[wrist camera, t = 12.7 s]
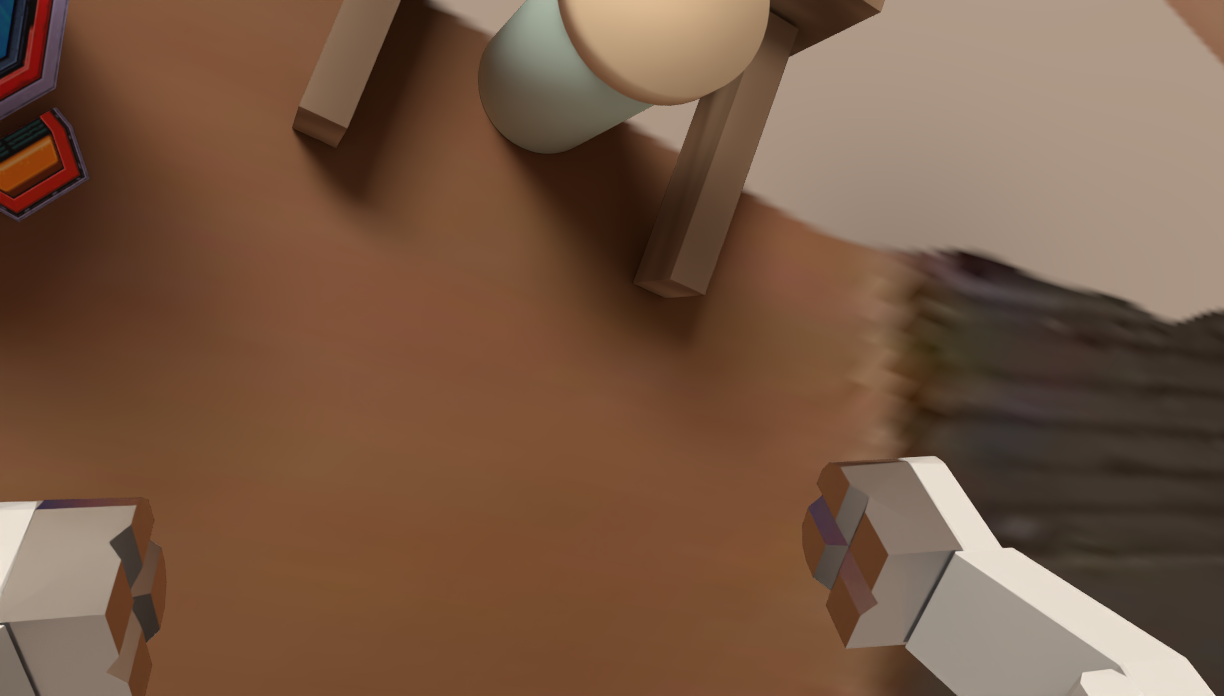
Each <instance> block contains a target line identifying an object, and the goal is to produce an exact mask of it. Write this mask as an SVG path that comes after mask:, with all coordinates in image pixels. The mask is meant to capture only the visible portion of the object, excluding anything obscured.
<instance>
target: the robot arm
mask: <svg viewBox="0 0 1224 696" xmlns="http://www.w3.org/2000/svg"><path fill="white" fill-rule="evenodd" d="M817 485H818V487H819V489H820V491H821V493H822V496H821V497H820V498H819V499H817V500H816V501H815V502H814V503H813V504H811V505H810V506H809V507H808V509H807V512H806V515H805V519H804V522H803V525H802V544H803V550H804V554H805V558H806V562H807V564H808V566H809V569H810V571H811V573H812V576H813V578H815V579H816V580H817V581H819V582H820V583H821V584H823V585H824V586H825V587H827V588H828V589H829V590H830V593H829V597H828V600H827V603H826V607H827V609H828V611H829V613H830V616H831V618H832V620H833V622H834V624H835V627H836V629H837V631H838V633H839V635H840V637H841V640H842V642H843V644H844V646H845V648H859V647H873V646H887V645H901V644H907V645H906V647H905V648H906V649H908V650H909V651H910V652H911V653H912V654H913V655H914V656H915V657H916V658H917V659H918V660H920V661H921V662H922V663H923V664H924V665H925V666H926V667H927V668H928V669H929V670H930V671H932V672H933V673H934V674H935V675H936V676H937V677H938V678H939V679H940V680H941V681H942V682H943V683H945V684H946V685H947V686H948V687H949V688H950V689H951V690H952V691H953V692H954V693H955V694H957V695H958V696H1215V695H1214V693H1213V692H1212V691H1211V690H1210V688H1209V687H1208V686H1207V684H1206V683H1205V682H1204V681H1203V679H1202V678H1201V677H1200V675H1199V674H1198V673H1197V672H1196V670H1195V669H1194V668H1193V666H1192V665H1191V664H1190V663H1189V661H1188V660H1187V659H1186V658H1185V657H1183V656H1182V655H1180V654H1179V653H1177V652H1175V651H1174V650H1172V649H1171V648H1169V647H1168V646H1166V645H1164V644H1163V643H1161V642H1160V641H1158V640H1157V639H1155V638H1153V637H1152V636H1150V635H1149V634H1147V633H1146V632H1144V631H1142V630H1141V629H1139V628H1138V627H1136V626H1135V625H1133V624H1131V623H1130V622H1128V621H1127V620H1125V619H1124V618H1122V617H1120V616H1119V615H1117V614H1116V613H1114V612H1113V611H1111V610H1109V609H1108V608H1106V607H1105V606H1103V605H1102V604H1100V603H1098V602H1097V601H1095V600H1094V599H1092V598H1091V597H1089V596H1087V595H1086V594H1084V593H1083V592H1081V591H1080V590H1078V589H1076V588H1075V587H1073V586H1072V585H1070V584H1069V583H1067V582H1065V581H1064V580H1062V579H1061V578H1059V577H1058V576H1056V575H1054V574H1053V573H1051V572H1050V571H1048V570H1047V569H1045V568H1043V567H1042V566H1040V565H1039V564H1037V563H1036V562H1034V561H1032V560H1031V559H1029V558H1028V557H1026V556H1025V555H1023V554H1021V553H1020V552H1018V551H1017V550H1015V549H1014V548H1002V547H1001V546H1000V544H999V543H998V541H997V540H996V538H995V537H994V535H993V534H992V532H991V531H990V530H989V528H988V527H987V525H986V524H985V522H984V521H983V519H982V518H981V516H980V515H979V513H978V512H977V510H976V509H975V507H974V506H973V504H972V503H971V502H970V500H969V499H968V497H967V496H966V494H965V493H964V491H963V490H962V488H961V487H960V485H959V484H958V482H957V481H956V479H955V478H954V476H953V475H952V473H951V472H950V471H949V469H948V468H947V466H946V465H945V463H944V462H943V461H941V460H940V459H938V458H937V457H935V456H928V457H911V458H900V459H895V458H893V459H877V460H860V461H844V462H829V463H828V464H827V465H826V466H825V467H824V468H823V469H822V471H821V474H820V476H819V479H818V482H817ZM153 524H154V517H153V514H152V510H151V507H150V504H149V500H148V499H145V498H142V497H138V498H102V499H66V500H44V501H24V502H0V696H145V694H146V689H147V685H148V681H149V676H150V672H151V668H152V662H151V659H150V655H149V652H148V648H147V645H146V643H147V642H148V641H149V640H150V639H151V638H152V637H153V636H154V635H155V634H156V633H157V632H158V631H159V630H160V628H161V623H162V618H163V613H164V608H165V596H166V570H165V561H164V556H163V552H162V548H161V547H160V546H159V545H157V544H156V543H155V542H153V541H152V540H150V536H151V532H152V528H153Z"/></svg>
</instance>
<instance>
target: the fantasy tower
mask: <svg viewBox="0 0 1224 696" xmlns="http://www.w3.org/2000/svg"><path fill="white" fill-rule="evenodd" d="M68 4H69V0H0V120H2V119H3V118H5V117H7V116H9V115H10V114H12V113H14V112H16V111H17V110H19V109H21V108H22V107H24V106H26V105H28V104H29V103H31V102H33V101H35V100H36V99H38V98H40V97H42V96H43V95H45V94H47V93H49V92H50V91H52V90H54V89H56V83H57V77H58V70H59V63H60V57H61V50H62V43H63V37H64V30H65V23H66V17H67V10H68ZM89 179H90V178H89V175H88V172H87V169H86V166H85V163H84V160H83V157H82V154H81V151H80V148H79V145H78V142H77V139H76V136H75V133H74V130H73V127H72V125H71V124H70V123H69V122H68V120H67V119H66V118H65V117H64V116H63V114H62V113H61V112H60V111H59V110H58V108H57V107H54V108H53V109H51V110H49V111H47V112H46V113H44V114H42V115H41V116H39V117H37V118H35V119H34V120H32V121H30V122H28V123H27V124H25V125H23V126H22V127H20V128H18V129H16V130H15V131H13V132H11V133H9V134H8V135H6V136H4V137H2V138H1V139H0V212H2V213H4V214H5V215H7V216H9V217H11V218H12V219H14V220H16V221H18V222H20V221H22V220H23V219H25V218H26V217H28V216H30V215H31V214H33V213H35V212H36V211H38V210H40V209H41V208H43V207H44V206H46V205H48V204H49V203H51V202H53V201H54V200H56V199H58V198H59V197H61V196H62V195H64V194H66V193H67V192H69V191H71V190H72V189H74V188H76V187H77V186H79V185H80V184H82V183H84V182H85V181H87V180H89Z"/></svg>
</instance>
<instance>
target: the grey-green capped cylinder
mask: <svg viewBox="0 0 1224 696" xmlns="http://www.w3.org/2000/svg"><path fill="white" fill-rule="evenodd" d="M769 6H770V0H526V1H525V3H524V4H523V5H522V6H521V7H520V8H519V9H518V10H517V12H516V13H515V14H514V15H513V16H512V17H511V18H510V19H509V20H508V22H507V23H506V24H505V25H504V26H503V27H502V28H501V29H500V30H499V31H498V33H497V34H496V35H495V36H494V37H493V38H492V39H491V41H490V42H489V44H488V45H487V47H486V49H485V51H484V53H483V55H482V58H481V61H480V66H479V71H478V86H479V93H480V98H481V101H482V104H483V107H484V109H485V111H486V113H487V115H488V117H489V119H490V120H491V122H492V123H493V125H494V126H495V127H496V128H497V129H498V131H499V132H500V133H501V134H502V135H503V136H505V137H506V138H507V139H508V140H510V141H511V142H512V143H514V144H516V145H518V146H519V147H521V148H524V149H526V150H529V151H532V152H536V153H543V154H554V153H560V152H564V151H567V150H570V149H572V148H574V147H576V146H578V145H580V144H582V143H584V142H586V141H588V140H589V139H591V138H593V137H595V136H597V135H599V134H601V133H603V132H604V131H606V130H608V129H610V128H612V127H614V126H616V125H617V124H619V123H621V122H623V121H625V120H627V119H629V118H631V117H632V116H634V115H636V114H638V113H640V112H642V111H644V110H645V109H647V108H649V107H651V106H653V105H668V106H669V105H670V106H671V105H678V104H684V103H687V102H691V101H695V100H697V99H699V98H701V97H703V96H705V95H707V94H709V93H711V92H713V91H715V90H717V89H719V88H721V87H723V86H725V85H727V84H728V83H730V82H731V81H733V80H734V79H735V78H736V77H737V76H739V75H740V74H741V73H742V72H743V71H744V70H745V69H746V67H747V66H748V65H749V64H750V62H751V61H752V60H753V58H754V56H755V55H756V53H757V51H758V49H759V47H760V45H761V42H762V40H763V38H764V34H765V31H766V27H767V23H768V16H769Z"/></svg>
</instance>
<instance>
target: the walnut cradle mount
mask: <svg viewBox="0 0 1224 696" xmlns="http://www.w3.org/2000/svg"><path fill="white" fill-rule="evenodd" d="M400 1H401V0H344V1H343V3H342V6H341V8H340V11H339V13H338V15H337V18H336V20H335V22H334V25H333V27H332V29H331V32H330V34H329V36H328V39H327V41H326V43H325V46H324V48H323V51H322V53H321V55H320V58H319V60H318V62H317V65H316V67H315V69H314V72H313V74H312V76H311V79H310V81H309V83H308V86H307V88H306V91H305V93H304V95H303V98H302V100H301V102H300V105H299V107H298V111H297V114H296V117H295V120H294V123H293V127H292V128H293V129H295V130H297V131H300V132H302V133H304V134H306V135H308V136H311V137H313V138H315V139H317V140H319V141H322V142H324V143H326V144H328V145H330V146H333V147H335V148H336V147H337V145H338V144H339V142H340V140H341V138H342V137H343V135H344V133H345V132H346V130H347V128H348V126H349V123H350V121H351V118H352V116H353V114H354V111H355V109H356V106H357V104H358V102H359V99H360V97H361V94H362V92H363V90H364V87H365V85H366V82H367V80H368V78H369V75H370V73H371V70H372V68H373V66H374V63H375V61H376V58H377V56H378V54H379V51H380V49H381V46H382V44H383V42H384V39H385V37H386V34H387V32H388V30H389V27H390V25H391V22H392V20H393V18H394V15H395V13H396V10H397V8H398V5H399V3H400ZM884 1H885V0H770V6H769V16H768V23H767V27H766V31H765V34H764V38H763V40H762V42H761V45H760V47H759V49H758V51H757V53H756V55H755V56H754V58H753V60H752V61H751V62H750V64H749V65H748V66H747V67H746V69H745V70H744V71H743V72H742V73H741V74H740V75H739V76H737V77H736V78H735V79H734V80H733V81H731V82H730V83H728V84H727V85H725V86H723V87H721V88H719V89H717V90H715V91H713V92H711V93H709V94H707V95H705V96H703V97H701V98H700V100H699V103H698V105H697V108H696V111H695V114H694V116H693V119H692V122H691V125H690V127H689V130H688V133H687V136H686V138H685V141H684V144H683V146H682V149H681V152H680V155H679V157H678V160H677V163H676V166H675V168H674V171H673V174H672V177H671V179H670V182H669V185H668V188H667V190H666V193H665V196H664V199H663V201H662V204H661V207H660V210H659V212H658V215H657V218H656V221H655V223H654V226H653V229H652V232H651V234H650V237H649V240H648V243H647V245H646V248H645V251H644V254H643V257H642V259H641V262H640V265H639V268H638V270H637V273H636V276H635V279H634V281H633V284H635V285H638V286H640V287H642V288H644V289H646V290H648V291H651V292H653V293H655V294H657V295H659V296H662V297H664V298H674V297H687V296H700V295H705V294H706V291H707V288H708V285H709V282H710V279H711V277H712V274H713V271H714V268H715V265H716V262H717V260H718V257H719V254H720V251H721V248H722V245H723V243H724V240H725V237H726V234H727V231H728V228H729V225H730V223H731V220H732V217H733V214H734V211H735V208H736V206H737V203H738V200H739V197H740V194H741V191H742V189H743V186H744V183H745V180H746V177H747V174H748V171H749V169H750V166H751V163H752V160H753V157H754V154H755V152H756V149H757V146H758V143H759V140H760V137H761V135H762V132H763V128H764V126H765V123H766V120H767V118H768V115H769V112H770V109H771V106H772V103H773V101H774V97H775V95H776V92H777V89H778V86H779V83H780V81H781V78H782V75H783V72H784V69H785V66H786V63H787V61H788V58H789V57H790V56H792V55H794V54H796V53H798V52H800V51H802V50H804V49H806V48H808V47H810V46H812V45H814V44H816V43H818V42H820V41H823V40H824V39H827V38H829V37H831V36H833V35H835V34H837V33H839V32H841V31H843V30H845V29H847V28H849V27H851V26H853V25H855V24H857V23H859V22H861V21H863V20H865V19H867V18H869V17H871V16H874V15H875V14H878V13H880V12H881V10H882V7H883V4H884Z"/></svg>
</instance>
